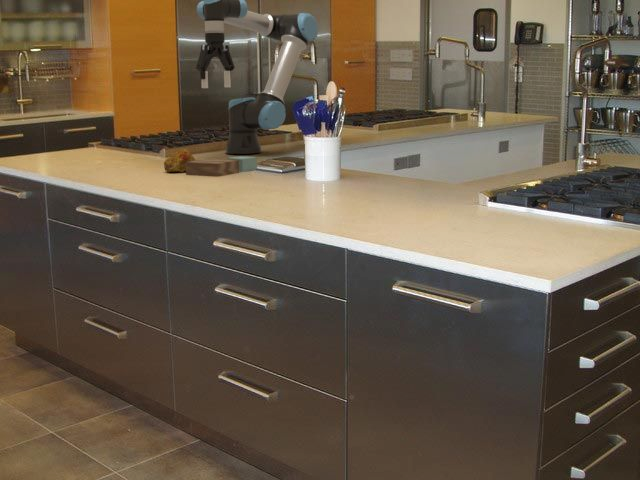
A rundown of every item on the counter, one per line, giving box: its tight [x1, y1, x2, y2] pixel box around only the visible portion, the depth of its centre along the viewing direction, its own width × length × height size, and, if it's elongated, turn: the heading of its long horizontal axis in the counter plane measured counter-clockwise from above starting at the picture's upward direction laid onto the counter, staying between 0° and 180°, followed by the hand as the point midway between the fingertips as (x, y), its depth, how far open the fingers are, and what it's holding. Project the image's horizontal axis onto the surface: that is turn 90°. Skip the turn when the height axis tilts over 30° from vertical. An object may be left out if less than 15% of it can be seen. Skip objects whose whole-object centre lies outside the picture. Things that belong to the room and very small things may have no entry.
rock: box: [163, 148, 196, 173], centre depth 335 cm, size 11×8×10 cm
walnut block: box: [185, 158, 240, 178], centre depth 328 cm, size 14×14×5 cm
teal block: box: [226, 155, 258, 173], centre depth 339 cm, size 8×8×5 cm
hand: (216, 87), depth 350 cm, fingers open, 13 cm apart
